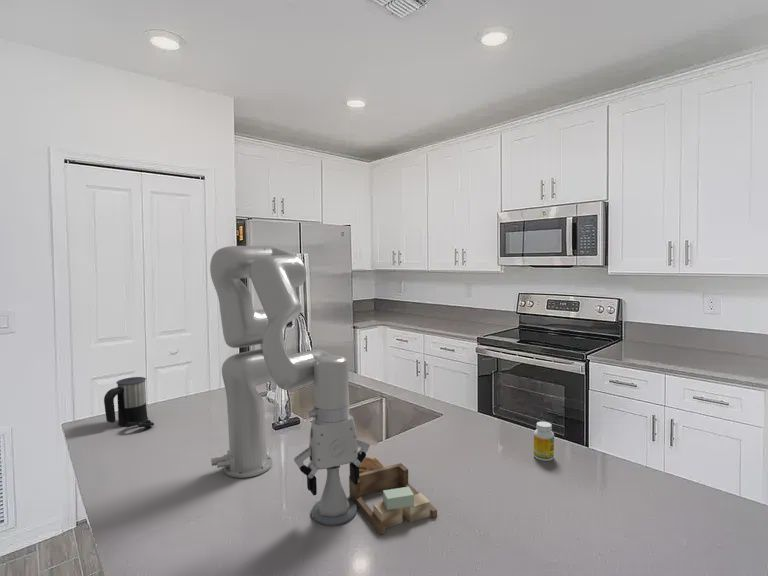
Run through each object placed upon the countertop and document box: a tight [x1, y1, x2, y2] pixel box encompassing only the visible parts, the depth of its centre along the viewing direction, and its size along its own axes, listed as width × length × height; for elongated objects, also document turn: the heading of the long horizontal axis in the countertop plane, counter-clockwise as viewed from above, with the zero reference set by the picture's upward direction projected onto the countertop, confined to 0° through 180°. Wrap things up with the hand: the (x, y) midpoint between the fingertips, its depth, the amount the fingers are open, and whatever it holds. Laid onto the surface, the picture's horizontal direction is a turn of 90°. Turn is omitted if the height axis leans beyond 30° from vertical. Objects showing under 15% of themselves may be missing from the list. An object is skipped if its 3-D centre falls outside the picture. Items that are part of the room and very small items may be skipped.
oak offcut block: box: [372, 501, 403, 529], centre depth 97 cm, size 5×4×4 cm
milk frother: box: [103, 376, 155, 429], centre depth 154 cm, size 14×16×15 cm
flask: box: [318, 465, 350, 517], centre depth 100 cm, size 7×7×10 cm
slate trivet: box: [311, 497, 358, 527], centre depth 101 cm, size 10×10×1 cm
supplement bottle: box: [533, 421, 555, 462], centre depth 126 cm, size 5×5×10 cm
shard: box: [359, 456, 384, 473], centre depth 120 cm, size 11×8×2 cm
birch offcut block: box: [402, 492, 431, 523], centre depth 99 cm, size 5×4×4 cm
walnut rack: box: [348, 462, 438, 536], centre depth 103 cm, size 14×17×5 cm
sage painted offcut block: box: [382, 487, 414, 510], centre depth 98 cm, size 6×4×2 cm, turn 106°
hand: (333, 486), depth 100 cm, fingers open, 9 cm apart
